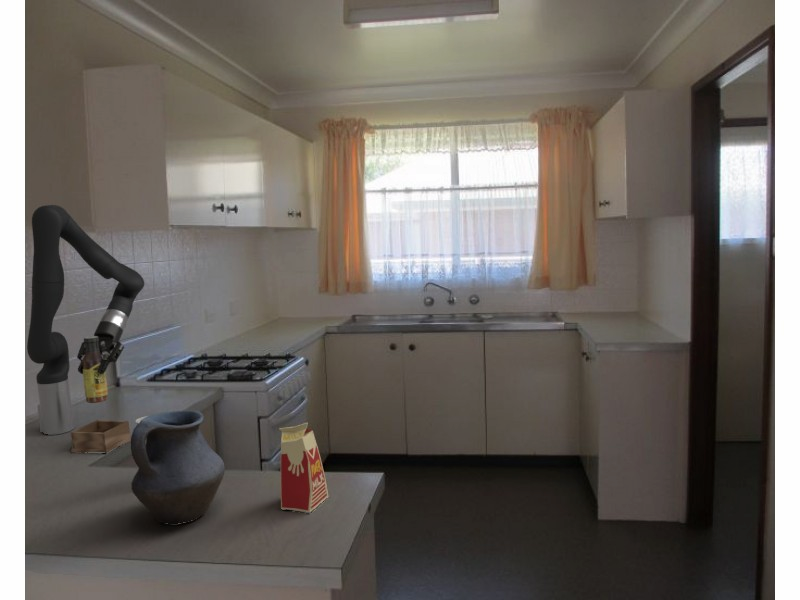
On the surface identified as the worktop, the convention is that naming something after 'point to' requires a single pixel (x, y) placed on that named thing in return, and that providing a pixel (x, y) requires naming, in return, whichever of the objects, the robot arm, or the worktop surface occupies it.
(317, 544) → the worktop surface
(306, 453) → the milk carton
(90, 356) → the sauce bottle
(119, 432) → the open wooden box
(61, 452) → the worktop surface
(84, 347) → the robot arm
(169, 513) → the pitcher
